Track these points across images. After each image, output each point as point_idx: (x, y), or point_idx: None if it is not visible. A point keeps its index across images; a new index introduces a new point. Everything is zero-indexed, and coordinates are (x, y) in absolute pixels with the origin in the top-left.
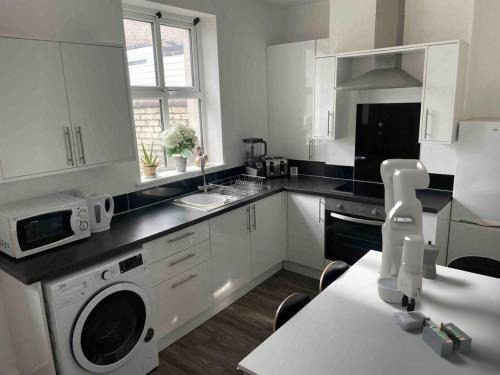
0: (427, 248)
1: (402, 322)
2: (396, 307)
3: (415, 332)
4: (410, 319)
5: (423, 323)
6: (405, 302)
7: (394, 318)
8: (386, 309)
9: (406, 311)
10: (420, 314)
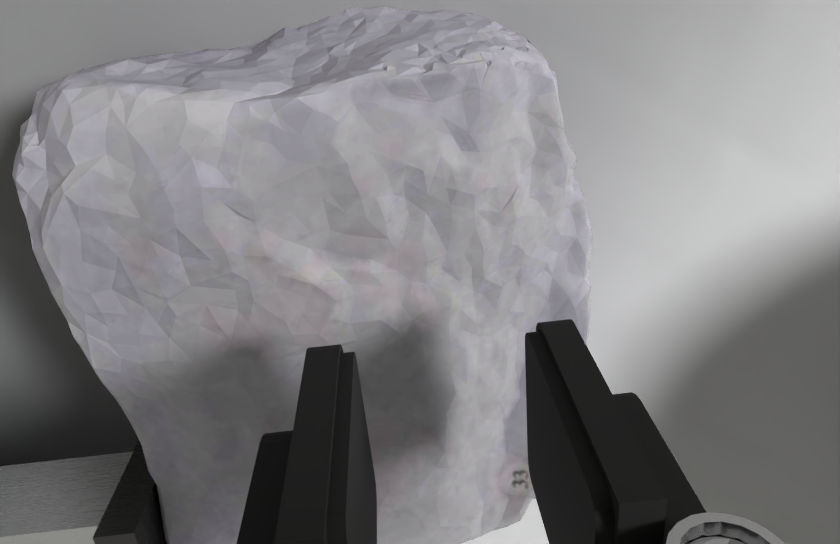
0: None
1: (81, 76)
2: (804, 279)
3: None
4: (112, 288)
5: None
6: (556, 472)
7: (403, 27)
8: (822, 68)
9: None
10: None
